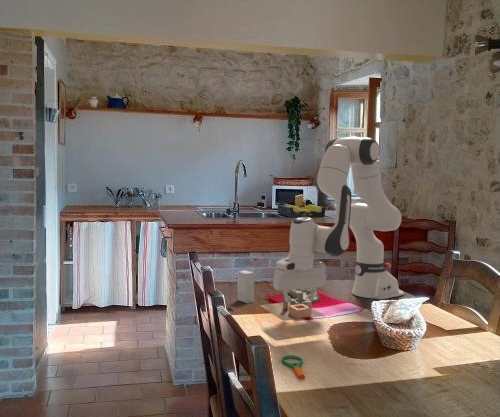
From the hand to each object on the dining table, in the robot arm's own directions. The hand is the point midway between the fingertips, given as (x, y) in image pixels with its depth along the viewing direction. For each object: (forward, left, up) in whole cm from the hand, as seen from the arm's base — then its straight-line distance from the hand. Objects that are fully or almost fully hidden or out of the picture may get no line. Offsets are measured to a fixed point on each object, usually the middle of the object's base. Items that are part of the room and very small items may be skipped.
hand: (299, 300), depth 192 cm
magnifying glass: (+23, +38, -8) cm, 45 cm away
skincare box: (+9, -29, -7) cm, 31 cm away
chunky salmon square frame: (0, 0, -6) cm, 6 cm away
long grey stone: (-16, -30, -8) cm, 35 cm away
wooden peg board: (0, -7, -7) cm, 10 cm away
